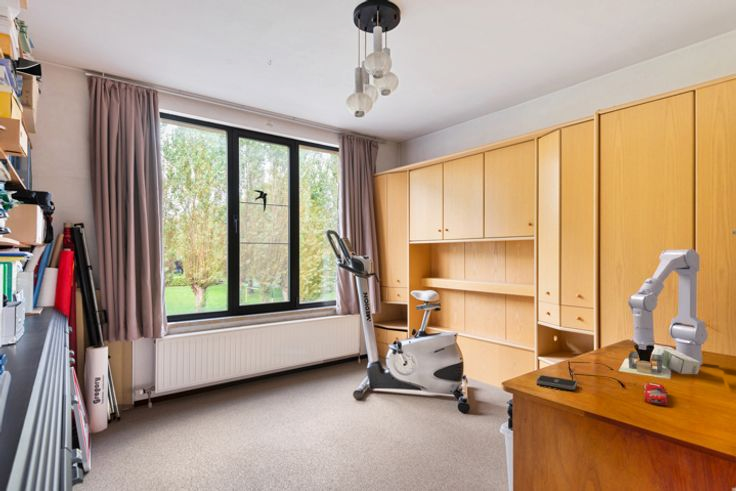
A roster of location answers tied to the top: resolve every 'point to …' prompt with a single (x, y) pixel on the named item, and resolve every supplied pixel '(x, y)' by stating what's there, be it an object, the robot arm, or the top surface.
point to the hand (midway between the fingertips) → (645, 366)
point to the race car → (655, 394)
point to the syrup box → (677, 360)
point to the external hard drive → (557, 383)
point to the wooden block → (644, 367)
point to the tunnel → (654, 358)
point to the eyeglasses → (590, 375)
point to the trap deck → (664, 373)
